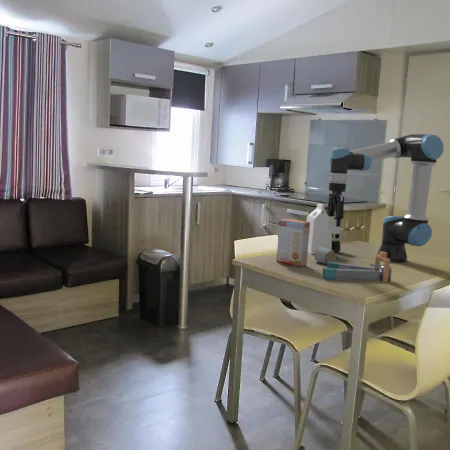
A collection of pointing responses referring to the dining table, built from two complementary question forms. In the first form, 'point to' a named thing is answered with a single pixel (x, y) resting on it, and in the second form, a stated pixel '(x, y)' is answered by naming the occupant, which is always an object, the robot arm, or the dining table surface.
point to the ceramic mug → (324, 255)
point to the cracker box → (293, 242)
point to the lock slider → (386, 265)
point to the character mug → (337, 240)
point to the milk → (319, 230)
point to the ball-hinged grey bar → (354, 274)
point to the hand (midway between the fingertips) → (333, 231)
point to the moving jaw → (353, 266)
